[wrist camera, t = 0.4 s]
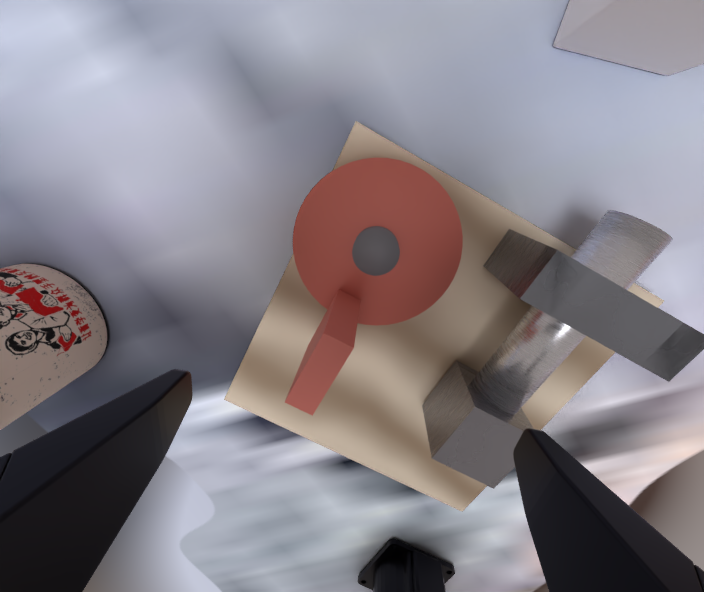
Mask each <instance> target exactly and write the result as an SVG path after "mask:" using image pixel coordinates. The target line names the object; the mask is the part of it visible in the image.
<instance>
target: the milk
mask: <svg viewBox="0 0 704 592" xmlns="http://www.w3.org/2000/svg"><path fill="white" fill-rule="evenodd" d="M553 46H554V47H556V48H560V49H564V50H567V51H571V52H575V53H579V54H583V55H587V56H591V57H595V58H599V59H603V60H607V61H611V62H615V63H619V64H622V65H626V66H630V67H634V68H638V69H642V70H646V71H650V72H654V73H658V74H662V75H666V76H669V75H672V74H675V73H678V72H681V71H684V70H687V69H690V68H693V67H696V66H699V65H702V64H704V0H570V1H569V3H568V6H567V9H566V11H565V14H564V17H563V19H562V22H561V25H560V27H559V30H558V33H557V36H556V38H555V41H554V44H553Z"/></svg>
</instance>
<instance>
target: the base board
mask: <svg viewBox="0 0 704 592" xmlns="http://www.w3.org/2000/svg"><path fill="white" fill-rule="evenodd" d="M367 158H390V159H396V160H401V161H404V162H407V163H410V164H412V165H414V166H416V167H418V168H420V169H422V170H424V171H425V172H427V173H428V174H429V175H431V176H432V177H433V178H434V179H435V180H436V181H438V182H439V183H440V184H441V186H442V187H443V188H444V189H445V190H446V192H447V193H448V194H449V196H450V198H451V199H452V201H453V203H454V205H455V207H456V210H457V212H458V215H459V218H460V222H461V227H462V235H463V247H462V254H461V260H460V263H459V267H458V270H457V272H456V274H455V277H454V279H453V281H452V282H451V284H450V286H449V287H448V289H447V290H446V291H445V293H444V294H443V295H442V296H441V297H440V298H439V299H438V300H437V301H436V302H435V303H434V304H433V305H432V306H431V307H429V308H428V309H427V310H426V311H424V312H422V313H421V314H419V315H417V316H415V317H413V318H411V319H408V320H406V321H403V322H399V323H395V324H390V325H378V326H376V325H364V324H359V323H357V330H356V337H355V344H354V349H353V350H352V352H351V354H350V355H349V357H348V358H347V360H346V362H345V363H344V365H343V367H342V368H341V370H340V372H339V373H338V375H337V376H336V378H335V380H334V381H333V383H332V385H331V386H330V388H329V389H328V391H327V393H326V394H325V396H324V398H323V399H322V401H321V403H320V404H319V406H318V407H317V409H316V411H315V412H314V414H313V416H312V415H310V414H308V413H306V412H303V411H301V410H299V409H297V408H295V407H293V406H291V405H289V404H287V403H285V400H286V398H287V395H288V393H289V390H290V388H291V386H292V383H293V381H294V378H295V376H296V373H297V371H298V369H299V366H300V364H301V361H302V359H303V357H304V354H305V352H306V349H307V347H308V344H309V343H310V341H311V339H312V337H313V335H314V333H315V332H316V330H317V328H318V326H319V324H320V323H321V321H322V319H323V317H324V315H325V313H326V312H327V309H326V308H325V307H323V306H322V305H321V304H320V303H319V302H318V301H317V300H316V299H315V298H314V297H313V296H312V295H311V293H310V292H309V291H308V290H307V288H306V286H305V285H304V283H303V281H302V279H301V277H300V275H299V272H298V270H297V267H296V263H295V259H294V253H293V255H292V257H291V259H290V261H289V263H288V266H287V268H286V270H285V272H284V274H283V276H282V278H281V280H280V282H279V285H278V287H277V289H276V291H275V293H274V295H273V297H272V299H271V301H270V304H269V306H268V308H267V310H266V312H265V314H264V316H263V318H262V320H261V323H260V325H259V327H258V329H257V331H256V333H255V335H254V337H253V339H252V342H251V344H250V346H249V348H248V350H247V352H246V354H245V356H244V358H243V361H242V363H241V365H240V367H239V369H238V371H237V373H236V375H235V377H234V380H233V382H232V384H231V386H230V388H229V390H228V392H227V394H226V396H225V399H224V400H226V401H228V402H230V403H233V404H235V405H237V406H239V407H241V408H243V409H245V410H247V411H250V412H252V413H254V414H256V415H258V416H260V417H262V418H264V419H267V420H269V421H271V422H273V423H275V424H277V425H279V426H281V427H284V428H286V429H288V430H290V431H292V432H294V433H296V434H298V435H301V436H303V437H305V438H307V439H309V440H311V441H313V442H315V443H318V444H320V445H322V446H324V447H326V448H328V449H330V450H332V451H334V452H337V453H339V454H341V455H343V456H345V457H347V458H349V459H351V460H354V461H356V462H358V463H360V464H362V465H364V466H366V467H368V468H371V469H373V470H375V471H377V472H379V473H381V474H383V475H385V476H388V477H390V478H392V479H394V480H396V481H398V482H400V483H402V484H405V485H407V486H409V487H411V488H413V489H415V490H417V491H419V492H421V493H424V494H426V495H428V496H430V497H432V498H434V499H436V500H438V501H441V502H443V503H445V504H447V505H449V506H451V507H453V508H455V509H458V510H460V511H463V510H464V509H465V508H466V507H467V506H468V505H469V504H470V503H471V502H472V501H473V500H474V499H475V498H476V497H477V496H478V495H479V494H480V493H481V492H482V491H483V489H484V488H485V487H486V486H487V485H485V484H483V483H481V482H479V481H477V480H475V479H473V478H471V477H469V476H467V475H465V474H462V473H460V472H458V471H456V470H454V469H452V468H450V467H448V466H446V465H444V464H442V463H440V462H438V461H436V460H434V459H432V457H431V451H430V446H429V441H428V435H427V430H426V424H425V419H424V413H423V408H422V405H423V403H424V402H425V401H426V399H427V398H428V397H429V395H430V394H431V393H432V391H433V390H434V389H435V387H436V386H437V385H438V384H439V382H440V381H441V380H442V378H443V377H444V376H445V374H446V373H447V372H448V370H449V369H450V368H451V366H452V365H453V364H454V362H455V361H456V360H457V361H459V362H461V363H462V364H464V365H466V366H468V367H470V368H472V369H474V370H476V371H478V372H479V371H480V370H481V369H482V367H483V366H484V365H485V364H486V362H487V361H488V360H489V359H490V357H491V356H492V355H493V354H494V352H495V351H496V350H497V349H498V347H499V346H500V345H501V344H502V342H503V341H504V340H505V339H506V337H507V336H508V335H509V334H510V333H511V331H512V330H513V329H514V328H515V326H516V325H517V324H518V323H519V321H520V320H521V319H522V318H523V316H524V315H525V314H526V313H527V311H528V310H529V309H530V308H531V306H532V305H530V304H528V303H526V302H524V301H523V300H521V299H519V298H518V297H517V296H516V295H515V294H514V293H513V292H512V291H510V290H509V289H508V288H507V287H506V286H505V285H504V284H503V283H502V282H500V281H499V280H498V279H497V278H496V277H495V276H494V275H493V274H492V273H490V272H489V271H488V270H487V269H486V268H485V267H484V266H483V265H484V264H485V262H486V261H487V260H488V258H489V257H490V255H491V254H492V253H493V251H494V250H495V248H496V247H497V245H498V244H499V243H500V241H501V240H502V238H503V237H504V236H505V234H506V233H507V231H508V230H509V229H511V230H513V231H515V232H518V233H520V234H522V235H524V236H527V237H529V238H531V239H534V240H536V241H538V242H541V243H543V244H545V245H547V246H550V247H552V248H554V249H557V250H559V251H560V252H562V253H564V254H566V255H567V256H569V257H571V256H572V255H573V254H574V253H575V251H576V249H574V248H573V247H571V246H569V245H568V244H566V243H564V242H562V241H561V240H559V239H557V238H556V237H554V236H552V235H550V234H549V233H547V232H545V231H544V230H542V229H540V228H538V227H537V226H535V225H533V224H532V223H530V222H528V221H526V220H525V219H523V218H521V217H520V216H518V215H516V214H514V213H513V212H511V211H509V210H508V209H506V208H504V207H502V206H501V205H499V204H497V203H496V202H494V201H492V200H490V199H489V198H487V197H485V196H484V195H482V194H480V193H478V192H477V191H475V190H473V189H472V188H470V187H468V186H466V185H465V184H463V183H461V182H460V181H458V180H456V179H454V178H453V177H451V176H449V175H448V174H446V173H444V172H442V171H441V170H439V169H437V168H436V167H434V166H432V165H430V164H429V163H427V162H425V161H424V160H422V159H420V158H418V157H417V156H415V155H413V154H412V153H410V152H408V151H406V150H405V149H403V148H401V147H400V146H398V145H396V144H394V143H393V142H391V141H389V140H388V139H386V138H384V137H382V136H381V135H379V134H377V133H375V132H374V131H372V130H370V129H369V128H367V127H365V126H363V125H362V124H360V123H358V122H357V121H356V122H355V124H354V126H353V128H352V130H351V133H350V135H349V137H348V139H347V141H346V143H345V145H344V147H343V149H342V152H341V154H340V156H339V158H338V160H337V162H336V164H335V166H334V168H333V170H335V169H337V168H338V167H340V166H343V165H345V164H347V163H350V162H353V161H357V160H361V159H367ZM628 291H630V292H631V293H633V294H635V295H636V296H638V297H640V298H642V299H643V300H645V301H647V302H649V303H650V304H652V305H654V306H655V307H657V308H658V307H659V306H660V305H661V304H662V303H663V302H664V300H662V299H660V298H659V297H657V296H655V295H653V294H652V293H650V292H648V291H647V290H645V289H643V288H641V287H640V286H638V285H636V284H635V283H633V284H632V286H631V287H630V288H629V289H628ZM614 353H615V351H613V350H611V349H609V348H607V347H606V346H604V345H602V344H600V343H598V342H597V341H595V340H593V339H591V338H589V337H588V336H586V337H585V338H584V339H583V340H582V341H581V342H580V343H579V344H578V345H577V347H576V348H575V349H574V350H573V351H572V352H571V353H570V354H569V355H568V357H567V358H566V359H565V360H564V361H563V362H562V363H561V364H560V365H559V367H558V368H557V369H556V370H555V371H554V372H553V373H552V374H551V375H550V376H549V378H548V379H547V380H546V381H545V382H544V383H543V384H542V385H541V386H540V388H539V389H538V390H537V391H536V392H535V393H534V394H533V395H532V396H531V398H530V399H529V400H528V401H527V402H526V403H525V404H524V405H523V406H522V410H523V412H524V413H525V415H526V417H527V418H528V420H529V421H530V423H531V425H532V426H533V428H534V429H537V430H541V429H542V428H543V427H544V426H545V425H546V424H547V423H548V422H549V421H550V420H551V419H552V418H553V417H554V415H555V414H556V413H557V412H558V411H559V410H560V409H561V408H562V407H563V406H564V405H565V404H566V403H567V402H568V401H569V400H570V399H571V398H572V397H573V396H574V395H575V394H576V393H577V392H578V390H579V389H580V388H581V387H582V386H583V385H584V384H585V383H586V382H587V381H588V380H589V379H590V378H591V377H592V376H593V375H594V374H595V373H596V372H597V371H598V370H599V369H600V368H601V367H602V365H603V364H604V363H605V362H606V361H607V360H608V359H609V358H610V357H611V356H612V355H613V354H614Z"/></svg>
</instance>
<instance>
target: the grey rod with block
mask: <svg viewBox="0 0 704 592" xmlns="http://www.w3.org/2000/svg"><path fill="white" fill-rule="evenodd" d="M672 240H673V239H672V237H671V236H670V235H668V234H667V233H666V232H664V231H662V230H661V229H659V228H657V227H655V226H653V225H652V224H649V223H647V222H645V221H643V220H641V219H638V218H636V217H633V216H631V215H628V214H625V213H622V212H618V211H612V210H609V211H607V213H606V214H605V215H604V216H603V218H602V219H601V220H600V221H599V223H598V224H597V225H596V226H595V228H594V229H593V230H592V231H591V233H590V234H589V235H588V236H587V238H586V239H585V240H584V241H583V243H582V244H581V245H580V246H579V248H578V249H577V250H576V251H575V253H574V254H573V255H572V256H571V258H573V259H574V260H576V261H578V262H579V263H581V264H583V265H585V266H586V267H588V268H590V269H592V270H593V271H595V272H597V273H598V274H600V275H602V276H604V277H605V278H607V279H609V280H611V281H612V282H614V283H616V284H617V285H619V286H621V287H623V288H624V289H626V290H628V289H629V288H630V287H631V286H632V284H633V283H634V282H635V281H636V280H637V279H638V278H639V277H640V276H641V274H642V273H643V272H644V271H645V270H646V269H647V268H648V267H649V266H650V264H651V263H652V262H653V261H654V260H655V259H656V258H657V257H658V256H659V255H660V253H661V252H662V251H663V250H664V249H665V248H666V247H667V246H668V245H669V243H670V242H671V241H672ZM585 337H586V335H584V334H582V333H580V332H579V331H577V330H575V329H573V328H571V327H569V326H568V325H566V324H564V323H562V322H560V321H559V320H557V319H555V318H553V317H551V316H550V315H548V314H546V313H544V312H542V311H541V310H539V309H537V308H535V307H533V306H531V308H530V309H529V310H528V311H527V313H526V314H525V315H524V316H523V318H522V319H521V320H520V321H519V323H518V324H517V325H516V326H515V328H514V329H513V330H512V331H511V333H510V334H509V335H508V336H507V337H506V339H505V340H504V341H503V342H502V344H501V345H500V346H499V347H498V349H497V350H496V351H495V352H494V354H493V355H492V356H491V357H490V359H489V360H488V361H487V362H486V364H485V365H484V366H483V367H482V369H481V370H480V371H479V372H478V371H476V370H474V369H472V368H470V367H468V366H466V365H464V364H462V363H461V362H459V361H457V360H456V361H455V362H454V364H453V365H452V366H451V368H450V369H449V370H448V372H447V373H446V374H445V376H444V377H443V378H442V380H441V381H440V382H439V384H438V385H437V386H436V387H435V389H434V390H433V391H432V393H431V394H430V395H429V397H428V398H427V399H426V401H425V402H424V403H423V405H422V408H423V413H424V419H425V424H426V430H427V435H428V441H429V446H430V451H431V457H432V459H434V460H436V461H438V462H440V463H442V464H444V465H446V466H448V467H450V468H452V469H454V470H456V471H458V472H460V473H462V474H465V475H467V476H469V477H471V478H473V479H475V480H477V481H479V482H481V483H483V484H485V485H487V486H489V487H491V488H493V489H494V488H495V487H496V486H497V485H498V483H499V482H500V481H501V480H502V479H503V478H504V477H505V476H506V475H507V474H508V473H509V472H510V471H511V470H512V469H513V468H514V467H515V463H514V458H513V451H514V448H515V446H516V444H517V442H518V440H519V439H520V437H521V435H522V433H523V431H524V430H525V429H527V428H531V429H534V428H533V426H532V425H531V423H530V421H529V420H528V418H527V417H526V415H525V413H524V412H523V410H522V406H523V405H524V404H525V403H526V402H527V401H528V400H529V399H530V398H531V396H532V395H533V394H534V393H535V392H536V391H537V390H538V389H539V388H540V386H541V385H542V384H543V383H544V382H545V381H546V380H547V379H548V378H549V376H550V375H551V374H552V373H553V372H554V371H555V370H556V369H557V368H558V367H559V365H560V364H561V363H562V362H563V361H564V360H565V359H566V358H567V357H568V355H569V354H570V353H571V352H572V351H573V350H574V349H575V348H576V347H577V345H578V344H579V343H580V342H581V341H582V340H583V339H584V338H585Z"/></svg>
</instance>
